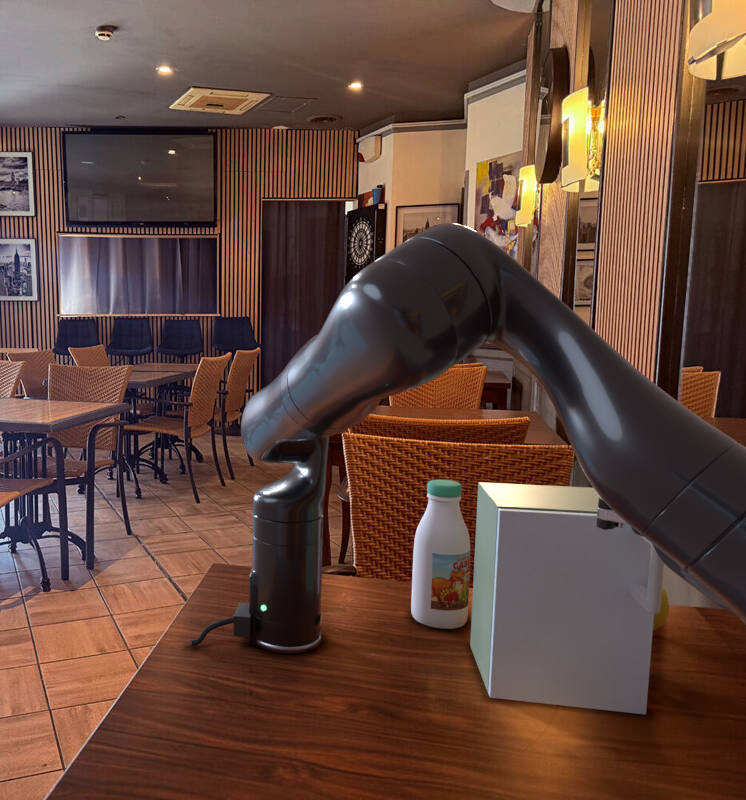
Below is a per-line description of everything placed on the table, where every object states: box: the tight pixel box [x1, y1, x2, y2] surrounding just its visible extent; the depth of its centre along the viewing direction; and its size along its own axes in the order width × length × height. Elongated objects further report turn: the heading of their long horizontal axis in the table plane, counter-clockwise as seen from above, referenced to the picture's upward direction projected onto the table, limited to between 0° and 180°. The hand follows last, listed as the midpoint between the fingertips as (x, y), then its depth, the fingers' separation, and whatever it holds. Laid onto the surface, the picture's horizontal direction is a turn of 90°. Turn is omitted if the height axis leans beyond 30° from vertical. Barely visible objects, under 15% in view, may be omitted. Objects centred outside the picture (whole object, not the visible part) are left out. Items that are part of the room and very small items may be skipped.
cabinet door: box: [487, 508, 665, 715], centre depth 73 cm, size 6×16×22 cm, turn 78°
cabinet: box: [469, 481, 600, 693], centre depth 82 cm, size 12×16×22 cm
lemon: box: [653, 587, 670, 631], centre depth 95 cm, size 6×6×8 cm
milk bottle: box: [410, 479, 471, 630], centre depth 98 cm, size 8×8×20 cm
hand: (636, 491), depth 65 cm, fingers closed
